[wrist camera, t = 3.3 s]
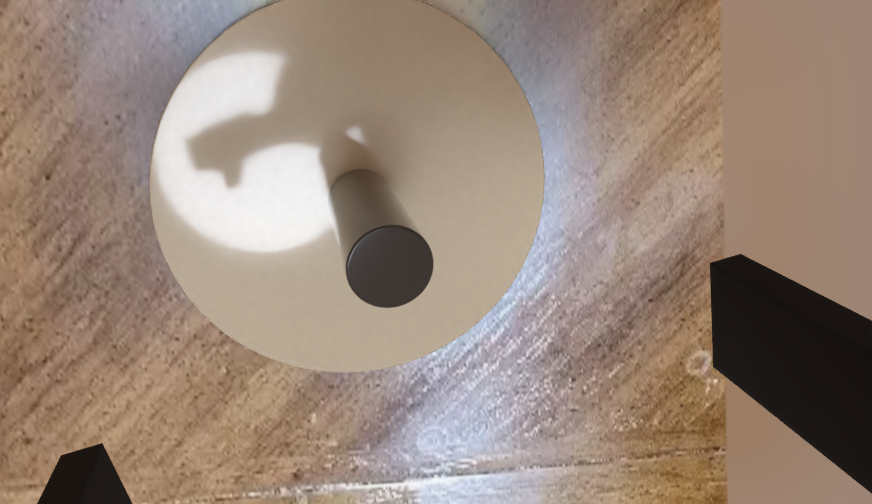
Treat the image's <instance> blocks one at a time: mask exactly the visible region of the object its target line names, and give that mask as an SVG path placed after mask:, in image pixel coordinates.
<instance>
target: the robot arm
mask: <svg viewBox="0 0 872 504" xmlns="http://www.w3.org/2000/svg"><path fill="white" fill-rule="evenodd" d="M710 280H711V312H712V343H713V367H714V368H715V369H717V370H718V371H719V372H720V373H722V374H723V375H724V376H725V377H727V378H728V379H729V380H730V381H732V382H733V383H734V384H735V385H737V386H738V387H739V388H740V389H742V390H743V391H744V392H746V393H747V394H748V395H749V396H750V397H752V398H753V399H754V400H756V401H757V402H758V403H759V404H761V405H762V406H763V407H764V408H766V409H767V410H768V411H769V412H770V413H772V414H773V415H774V416H775V417H777V418H778V419H779V420H780V421H782V422H783V423H784V424H785V425H787V426H788V427H789V428H791V429H792V430H793V431H794V432H795V433H797V434H798V435H799V436H800V437H802V438H803V439H804V440H805V441H807V442H808V443H809V444H811V445H812V446H813V447H814V448H816V449H817V450H818V451H819V452H821V453H822V454H823V455H824V456H826V457H827V458H828V459H829V460H831V461H832V462H833V463H835V464H836V465H837V466H838V467H839V468H841V469H842V470H843V471H844V472H846V473H847V474H848V475H849V476H851V477H852V478H853V479H854V480H856V481H857V482H858V483H859V484H861V485H862V486H863V487H864V488H866V489H867V490H868V491H869V492H871V493H872V321H871V320H869V319H867V318H865V317H863V316H861V315H859V314H857V313H856V312H853V311H852V310H850V309H848V308H846V307H844V306H842V305H840V304H838V303H836V302H834V301H832V300H830V299H828V298H826V297H824V296H822V295H820V294H818V293H816V292H814V291H812V290H810V289H808V288H806V287H804V286H802V285H800V284H798V283H796V282H795V281H793V280H791V279H789V278H787V277H785V276H783V275H781V274H779V273H777V272H775V271H773V270H771V269H769V268H767V267H765V266H763V265H761V264H759V263H757V262H755V261H753V260H751V259H749V258H747V257H745V256H744V255H742V254H739V255H735V256H732V257H729V258H725V259H722V260H719V261H715V262H712V263H710ZM37 504H132V502H131V500H130V498H129V496H128V494H127V492H126V490H125V488H124V486H123V484H122V482H121V480H120V478H119V476H118V474H117V472H116V470H115V468H114V466H113V464H112V462H111V460H110V458H109V456H108V454H107V452H106V450H105V448H104V446H103V444H102V443H101V444H98V445H95V446H91V447H88V448H85V449H81V450H78V451H74V452H71V453H68V454H64V455H61V457H60V459H59V461H58V463H57V465H56V467H55V469H54V471H53V473H52V475H51V477H50V479H49V481H48V483H47V485H46V487H45V489H44V491H43V493H42V495H41V497H40V499H39V501H38V503H37Z"/></svg>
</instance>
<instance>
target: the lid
mask: <svg viewBox="0 0 872 504" xmlns="http://www.w3.org/2000/svg"><path fill="white" fill-rule="evenodd" d="M544 179H545V175H544V160H543V151H542V146H541V141H540V136H539V131H538V127H537V124H536V121H535V118H534V115H533V112H532V110H531V107H530V105H529V103H528V101H527V99H526V96H525V94H524V92H523V90H522V88H521V86H520V84H519V83H518V81H517V80H516V78H515V77H514V75H513V74H512V72H511V71H510V70H509V68H508V67H507V65H506V64H505V62H504V61H503V60H502V59H501V58H500V57H499V56H498V55H497V53H496V52H495V51H494V50H493V49H492V48H491V47H490V46H489V44H487V43H486V42H485V41H484V40H483V39H482V38H480V37H479V36H478V35H477V34H476V33H475V32H473V31H472V30H471V29H470V28H469V27H467V26H466V25H464V24H463V23H461V22H459V21H458V20H456V19H455V18H453V17H452V16H450V15H448V14H447V13H445V12H443V11H441V10H439V9H437V8H434V7H432V6H430V5H428V4H426V3H423V2H421V1H418V0H280V1H278V2H275V3H273V4H271V5H269V6H266V7H264V8H262V9H260V10H257V11H255V12H253V13H251V14H250V15H248V16H247V17H245V18H244V19H242V20H240V21H239V22H237V23H236V24H234V25H232V26H231V27H229V28H228V29H227V30H226V31H224V32H223V33H222V34H221V35H220V36H219V37H217V38H216V39H215V40H214V41H213V42H211V43H210V44H209V45H208V46H207V47H206V48H205V49H204V50H203V51H202V52H201V54H200V55H199V56H198V57H197V58H196V59H195V60H194V62H193V63H192V64H191V65H190V66H189V67H188V68H187V70H186V72H185V73H184V75H183V76H182V78H181V79H180V81H179V82H178V84H177V86H176V87H175V89H174V90H173V92H172V94H171V96H170V98H169V100H168V102H167V105H166V107H165V109H164V111H163V113H162V116H161V118H160V121H159V125H158V128H157V132H156V135H155V139H154V142H153V146H152V154H151V161H150V169H149V200H150V206H151V212H152V219H153V225H154V229H155V232H156V235H157V238H158V241H159V245H160V248H161V251H162V253H163V255H164V257H165V259H166V262H167V264H168V266H169V268H170V270H171V272H172V274H173V276H174V277H175V279H176V280H177V282H178V283H179V285H180V286H181V288H182V290H183V291H184V293H185V294H186V296H187V297H188V298H189V299H190V300H191V301H192V303H193V304H194V305H195V306H196V307H197V308H198V309H199V311H200V312H201V313H202V314H203V315H204V316H205V317H206V318H207V319H208V320H210V321H211V322H212V323H213V324H214V325H215V326H216V327H217V328H219V329H220V330H221V331H222V332H224V333H225V334H226V335H228V336H229V337H231V338H232V339H234V340H235V341H237V342H238V343H240V344H241V345H243V346H245V347H247V348H249V349H251V350H253V351H255V352H257V353H259V354H260V355H262V356H265V357H267V358H270V359H273V360H276V361H278V362H281V363H284V364H287V365H291V366H295V367H300V368H304V369H308V370H315V371H324V372H364V371H372V370H380V369H384V368H389V367H393V366H397V365H401V364H404V363H407V362H410V361H413V360H416V359H418V358H421V357H424V356H426V355H428V354H430V353H432V352H434V351H436V350H438V349H440V348H442V347H444V346H446V345H447V344H449V343H450V342H452V341H454V340H455V339H457V338H458V337H460V336H461V335H463V334H464V333H465V332H467V331H468V330H469V329H470V328H472V327H473V326H474V325H475V324H477V323H478V322H479V321H480V320H481V319H482V318H483V317H484V316H485V315H486V314H487V313H488V312H489V311H490V310H491V309H492V308H493V307H494V306H495V305H496V304H497V303H498V302H499V300H500V299H501V298H502V296H503V295H504V294H505V293H506V291H507V290H508V289H509V287H510V286H511V285H512V283H513V281H514V280H515V278H516V276H517V275H518V273H519V271H520V270H521V268H522V266H523V264H524V262H525V260H526V258H527V256H528V253H529V251H530V249H531V247H532V244H533V241H534V238H535V235H536V231H537V228H538V225H539V221H540V215H541V210H542V205H543V196H544Z"/></svg>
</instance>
